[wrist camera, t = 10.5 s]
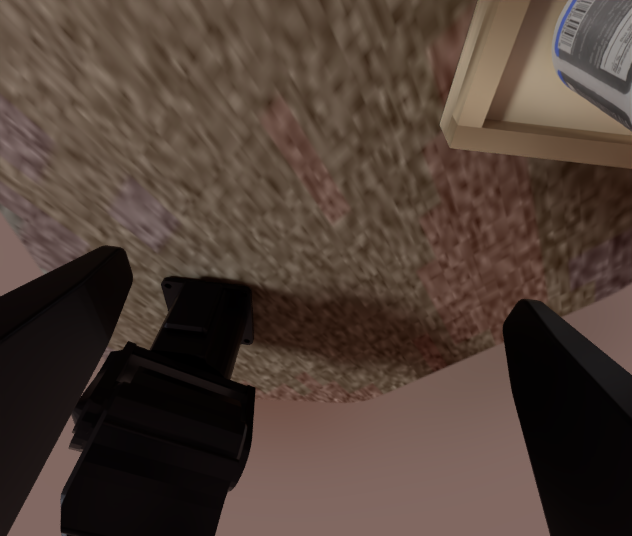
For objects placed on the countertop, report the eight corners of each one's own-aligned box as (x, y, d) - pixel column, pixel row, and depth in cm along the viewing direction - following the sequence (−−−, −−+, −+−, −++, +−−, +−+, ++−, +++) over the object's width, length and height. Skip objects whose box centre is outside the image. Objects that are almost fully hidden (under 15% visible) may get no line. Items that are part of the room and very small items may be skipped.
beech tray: (642, 147, 18) (677, 174, 16) (439, 124, 18) (449, 147, 16) (859, -161, 11) (966, -181, 9) (538, -196, 12) (576, -224, 10)
